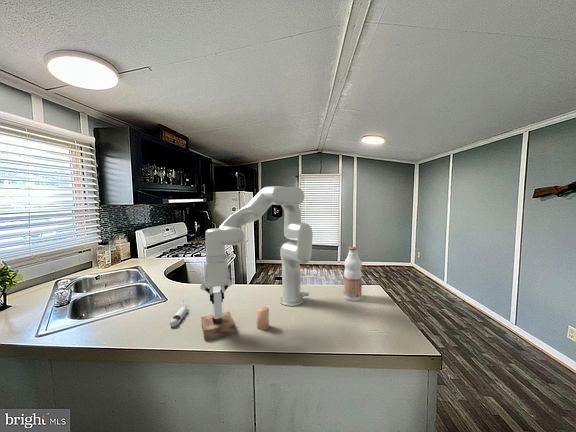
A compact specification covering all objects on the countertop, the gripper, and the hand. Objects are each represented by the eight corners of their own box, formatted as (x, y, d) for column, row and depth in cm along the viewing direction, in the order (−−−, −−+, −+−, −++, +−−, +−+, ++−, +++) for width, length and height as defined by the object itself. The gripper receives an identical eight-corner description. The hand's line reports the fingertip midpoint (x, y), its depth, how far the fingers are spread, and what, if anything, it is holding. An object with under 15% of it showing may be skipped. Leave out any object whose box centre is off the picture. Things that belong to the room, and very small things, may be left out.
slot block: (229, 320, 115) (229, 311, 115) (235, 333, 104) (234, 323, 104) (201, 325, 111) (201, 317, 110) (204, 340, 100) (204, 330, 99)
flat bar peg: (220, 312, 110) (219, 290, 109) (222, 317, 105) (221, 294, 104) (213, 313, 109) (212, 291, 108) (214, 319, 104) (213, 295, 103)
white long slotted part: (178, 328, 109) (178, 313, 109) (167, 328, 109) (166, 314, 108) (191, 309, 127) (191, 296, 126) (181, 309, 127) (181, 297, 126)
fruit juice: (348, 302, 133) (349, 249, 131) (340, 295, 143) (341, 246, 140) (364, 300, 135) (365, 248, 133) (356, 294, 145) (357, 245, 142)
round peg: (266, 323, 113) (266, 305, 112) (270, 328, 108) (270, 310, 107) (255, 325, 111) (255, 307, 110) (259, 331, 106) (258, 312, 105)
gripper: (233, 254, 112) (234, 295, 113) (194, 258, 105) (195, 301, 107) (237, 258, 105) (238, 301, 106) (195, 263, 98) (197, 309, 100)
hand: (217, 301), depth 106 cm, fingers closed on flat bar peg, 2 cm apart
